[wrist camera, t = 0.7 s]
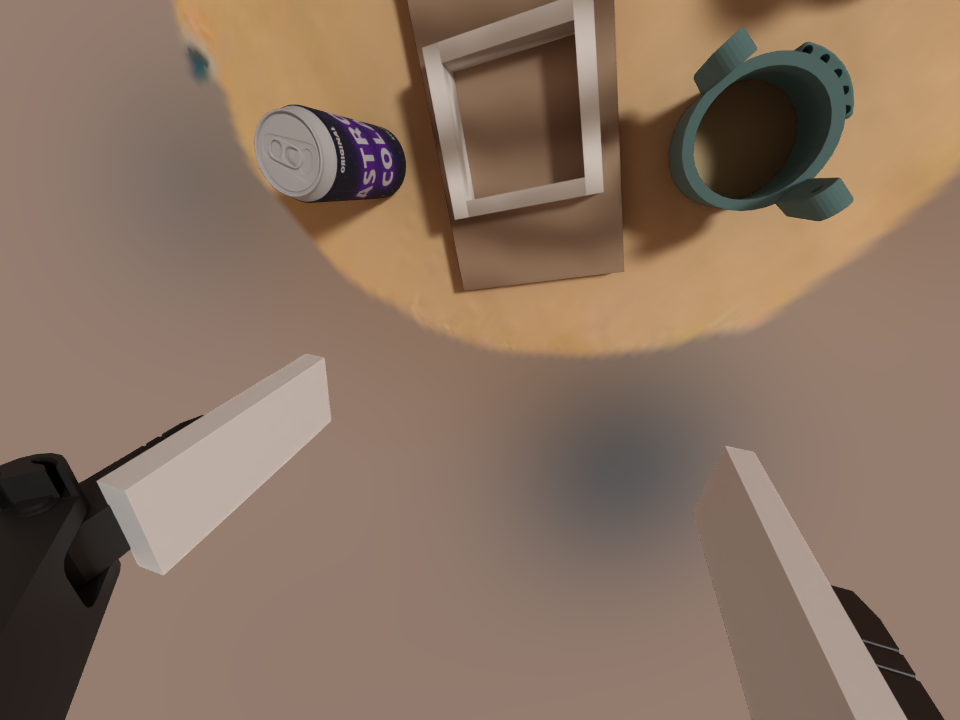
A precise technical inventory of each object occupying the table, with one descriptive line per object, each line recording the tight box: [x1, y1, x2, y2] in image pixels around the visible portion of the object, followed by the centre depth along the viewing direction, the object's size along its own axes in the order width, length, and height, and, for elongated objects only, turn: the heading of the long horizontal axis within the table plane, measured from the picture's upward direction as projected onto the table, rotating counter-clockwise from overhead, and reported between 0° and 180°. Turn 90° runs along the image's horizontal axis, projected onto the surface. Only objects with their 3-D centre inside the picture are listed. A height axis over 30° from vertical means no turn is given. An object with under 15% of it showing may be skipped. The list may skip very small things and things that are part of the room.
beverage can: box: [254, 105, 406, 203], centre depth 29 cm, size 6×6×12 cm
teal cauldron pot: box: [669, 27, 854, 221], centre depth 23 cm, size 9×9×9 cm
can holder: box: [407, 0, 624, 291], centre depth 29 cm, size 24×14×4 cm, turn 10°
